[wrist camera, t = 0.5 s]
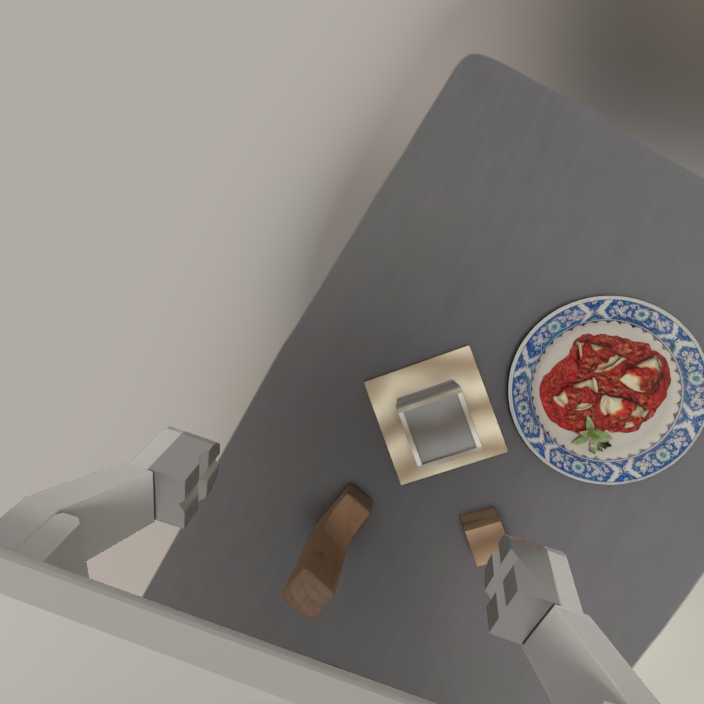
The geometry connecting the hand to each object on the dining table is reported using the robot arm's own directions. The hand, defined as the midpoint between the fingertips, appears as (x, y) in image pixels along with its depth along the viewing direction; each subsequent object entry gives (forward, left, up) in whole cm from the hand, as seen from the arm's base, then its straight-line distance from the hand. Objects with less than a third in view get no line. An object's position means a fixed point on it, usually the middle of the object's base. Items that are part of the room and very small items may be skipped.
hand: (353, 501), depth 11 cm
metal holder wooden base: (-8, -3, -50) cm, 51 cm away
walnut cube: (-26, -4, -51) cm, 57 cm away
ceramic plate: (-12, -26, -51) cm, 58 cm away
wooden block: (-18, +15, -51) cm, 56 cm away
